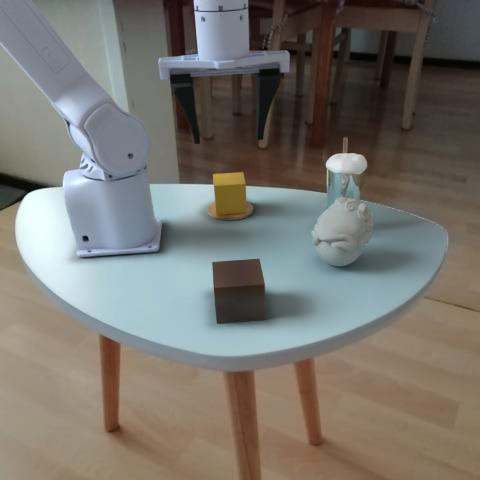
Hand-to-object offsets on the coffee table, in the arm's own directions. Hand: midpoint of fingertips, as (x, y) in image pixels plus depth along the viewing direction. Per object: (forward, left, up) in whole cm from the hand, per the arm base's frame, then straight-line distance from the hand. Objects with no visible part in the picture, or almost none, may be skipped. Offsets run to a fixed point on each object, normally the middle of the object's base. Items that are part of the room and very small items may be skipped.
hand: (228, 139), depth 60 cm
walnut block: (-1, -23, -9) cm, 24 cm away
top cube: (0, 0, -9) cm, 9 cm away
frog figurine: (+11, -16, -9) cm, 21 cm away
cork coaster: (0, 0, -9) cm, 9 cm away
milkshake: (+13, -8, -9) cm, 18 cm away
